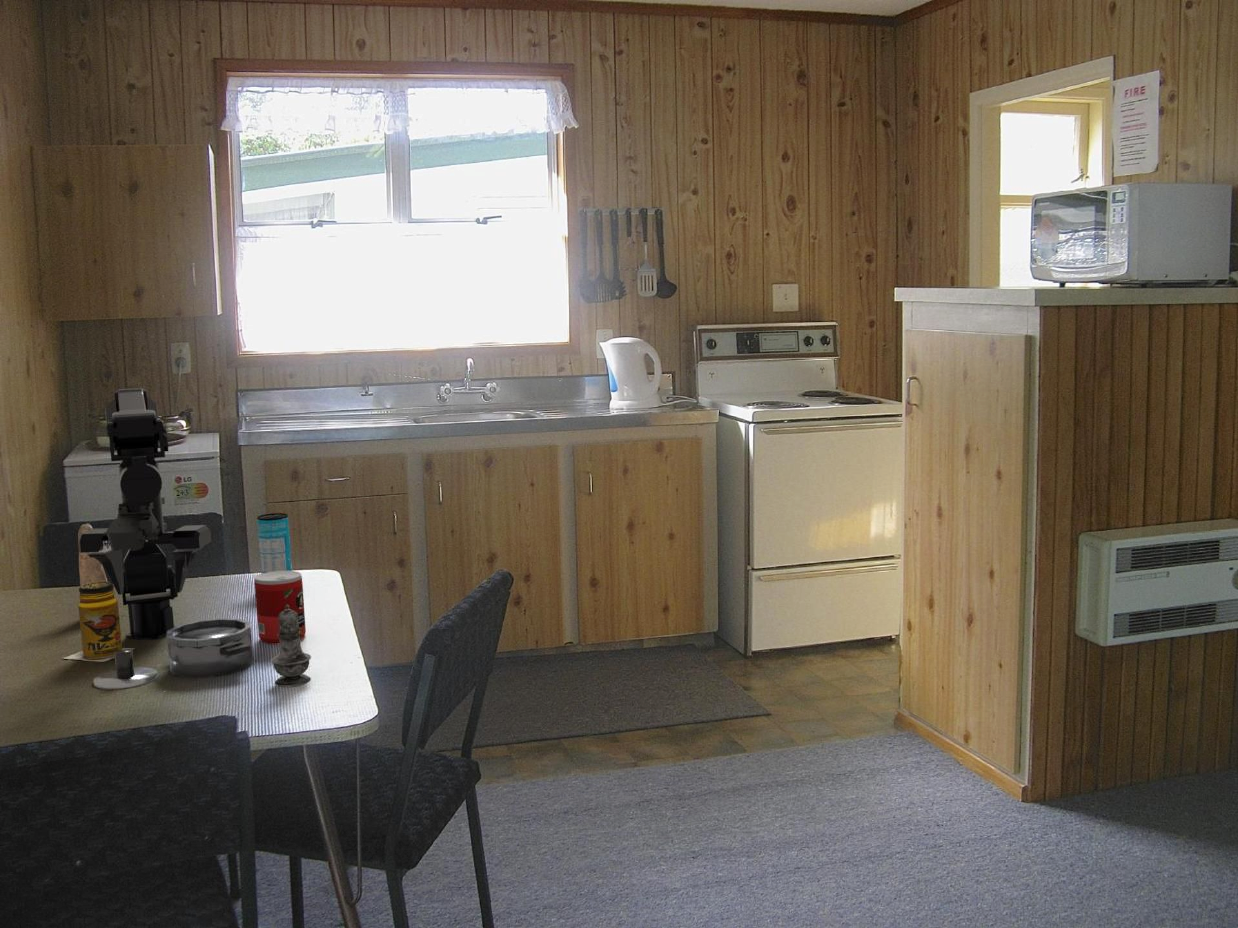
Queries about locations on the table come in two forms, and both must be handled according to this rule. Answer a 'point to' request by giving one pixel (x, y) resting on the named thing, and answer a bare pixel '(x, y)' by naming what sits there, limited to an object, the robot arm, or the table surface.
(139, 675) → the lid
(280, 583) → the canned food
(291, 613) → the salt shaker
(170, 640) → the pot
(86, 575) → the pink tall tapered cone
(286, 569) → the beverage can
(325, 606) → the table surface
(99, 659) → the condiment
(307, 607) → the table surface
